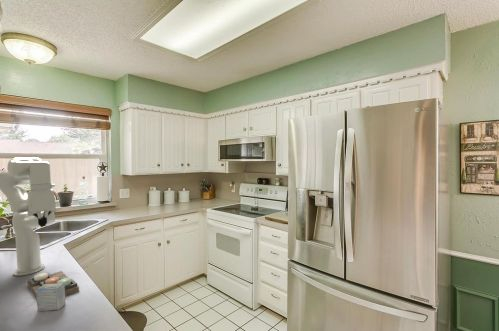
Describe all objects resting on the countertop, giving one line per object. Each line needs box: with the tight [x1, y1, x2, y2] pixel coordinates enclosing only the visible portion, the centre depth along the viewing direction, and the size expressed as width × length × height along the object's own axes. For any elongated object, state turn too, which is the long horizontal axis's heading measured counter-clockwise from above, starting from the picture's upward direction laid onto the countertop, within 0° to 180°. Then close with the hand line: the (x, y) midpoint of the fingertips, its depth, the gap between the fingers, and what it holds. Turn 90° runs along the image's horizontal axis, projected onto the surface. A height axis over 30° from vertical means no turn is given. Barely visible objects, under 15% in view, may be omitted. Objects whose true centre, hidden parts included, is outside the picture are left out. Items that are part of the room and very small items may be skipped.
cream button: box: [33, 272, 49, 282], centre depth 118 cm, size 5×5×2 cm
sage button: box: [57, 277, 72, 287], centre depth 112 cm, size 5×5×2 cm
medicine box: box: [36, 283, 66, 312], centre depth 99 cm, size 8×4×9 cm, turn 92°
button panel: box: [27, 271, 80, 298], centre depth 115 cm, size 26×13×3 cm, turn 50°
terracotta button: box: [45, 277, 59, 284], centre depth 115 cm, size 5×5×2 cm
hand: (42, 226), depth 120 cm, fingers closed
